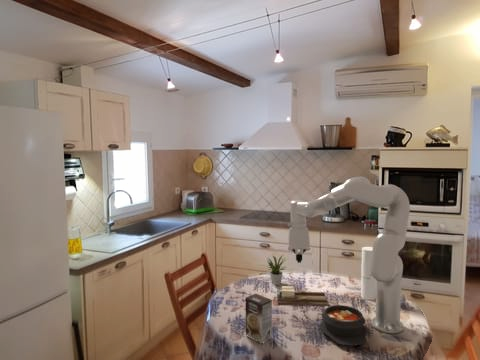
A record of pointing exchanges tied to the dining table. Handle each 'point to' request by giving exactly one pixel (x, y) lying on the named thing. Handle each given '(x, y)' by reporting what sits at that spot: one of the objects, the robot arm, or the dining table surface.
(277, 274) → the house plant
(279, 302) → the chute
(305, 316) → the dining table surface
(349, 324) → the casserole
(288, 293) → the block
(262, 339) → the coffee box
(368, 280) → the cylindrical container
